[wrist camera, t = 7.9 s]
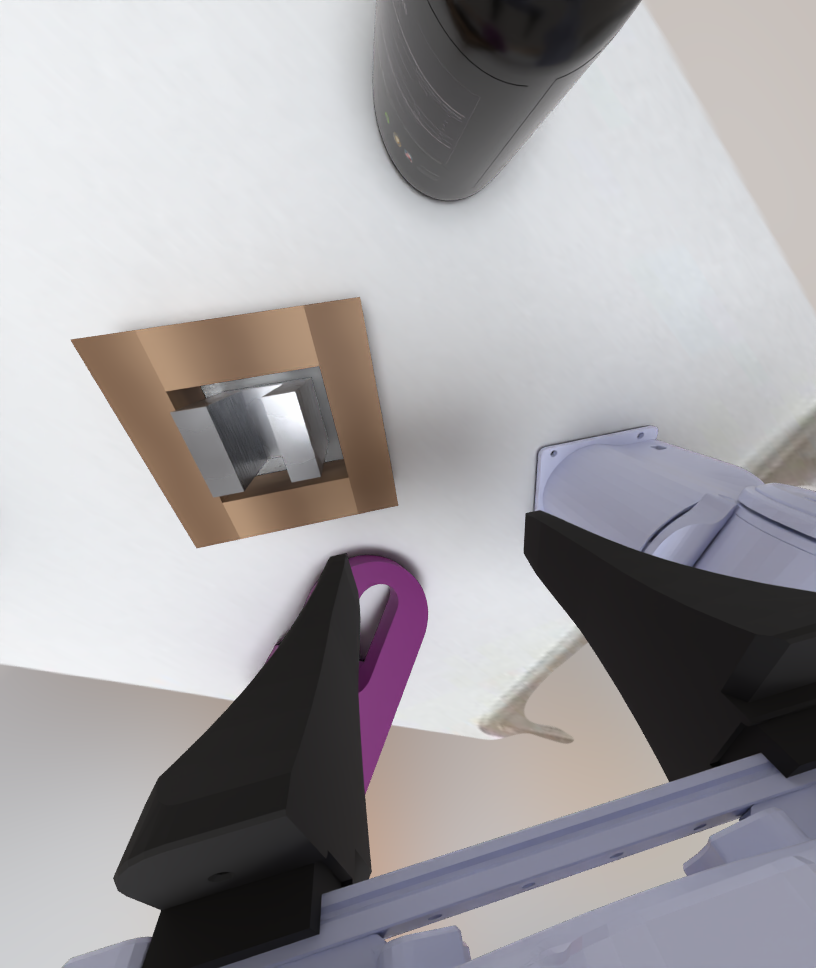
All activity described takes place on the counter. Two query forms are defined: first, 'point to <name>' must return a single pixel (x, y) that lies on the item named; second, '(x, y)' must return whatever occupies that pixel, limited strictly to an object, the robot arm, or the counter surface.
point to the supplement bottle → (477, 80)
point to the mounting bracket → (386, 650)
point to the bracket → (255, 433)
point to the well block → (237, 355)
